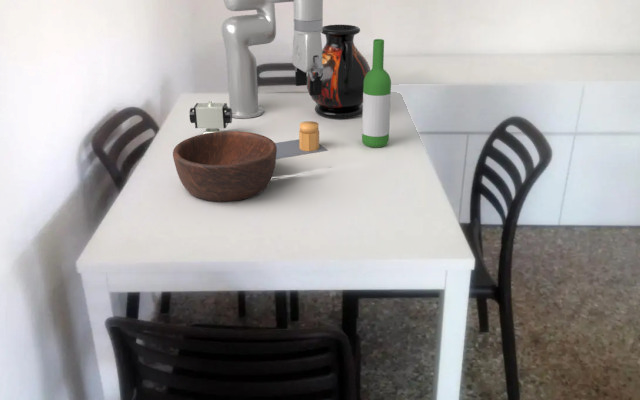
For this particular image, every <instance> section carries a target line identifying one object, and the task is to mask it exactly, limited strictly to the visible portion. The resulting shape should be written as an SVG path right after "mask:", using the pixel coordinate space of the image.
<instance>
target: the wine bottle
mask: <svg viewBox="0 0 640 400" xmlns="http://www.w3.org/2000/svg"><path fill="white" fill-rule="evenodd" d="M372 43H373V44H372V45H373V46H372V48H373V49H372V65H371V66H372V67H371V68H370V71H369V72H368V73H367V74H366V76H365V78H364V87H363V103H362V106H363V112H362V120H361V122H362V124H361V125H362V126H361V127H362V128H361V132H362V133H361V141H362V143H363V145H364V146H366V147H369V148H382V147H385V146H387V145H388V144H389V138H390V123H391V122H390V119H391V118H390V117H391V116H390V115H391V99H392V98H391V97H392V96H391V95H392V94H391V93H392V80H391V77H390V74H389V73H388V72H387V71H386V70H385V69H384V60H385V59H384V54H385V40H384V39H382V38H376V39H373V42H372Z"/></svg>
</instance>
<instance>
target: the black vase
mask: <svg viewBox="0 0 640 400" xmlns="http://www.w3.org/2000/svg"><path fill="white" fill-rule="evenodd" d="M360 33H361V29H360V28H359V26H356V25H351V24H328V25H324V26H323V32H322V33H321V35H322V34H323V35H324V36H325V40H326V43H325V45H324V47H322V65H323V67H324V70H323V76H322V80H321V94H320V95H313V96H311V95H310V80H311V78H310V74H309V71H308V72H307V84H306V90H307V92H308V94H309V96H310V98H311V99H312V100H313V102H314V103H316V104H315V107H314V111H315V113H316V114H317V115H318V116H321V117H324V118H326V119H327V118H328V119H335V120H338V119H339V120H345V119H346V120H347V119H352V118H356V117H358V116H360V115H363V87H364V78H365V76H366V74H367V73H368V72H369V71H370V70H371V67H370V65H369V62H368V61H367V59H366V57H364V55H363V54H362V53H361V52H360V50H359V49H357V47H356V45H355V43H354V38H355V35H358V34H360ZM311 69H314V68H311ZM314 74H315V72H313V75H314Z"/></svg>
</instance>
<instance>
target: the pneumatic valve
mask: <svg viewBox="0 0 640 400" xmlns="http://www.w3.org/2000/svg"><path fill="white" fill-rule="evenodd" d="M228 107H229V105H228V103H227V102H222V103H221V102H220V103H219V102H213V101H210V100H208V102H196V104H195V105H194V106H193V107H190V109H189V122H190V123H191V124H193V126H194V127H195V129H205V131H203V133H202V134H206V133H213V132H222V131H221V130H220V129H226V128H227V126H228V125H229V124H232V122H233V117H232V109H231V108H228Z"/></svg>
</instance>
